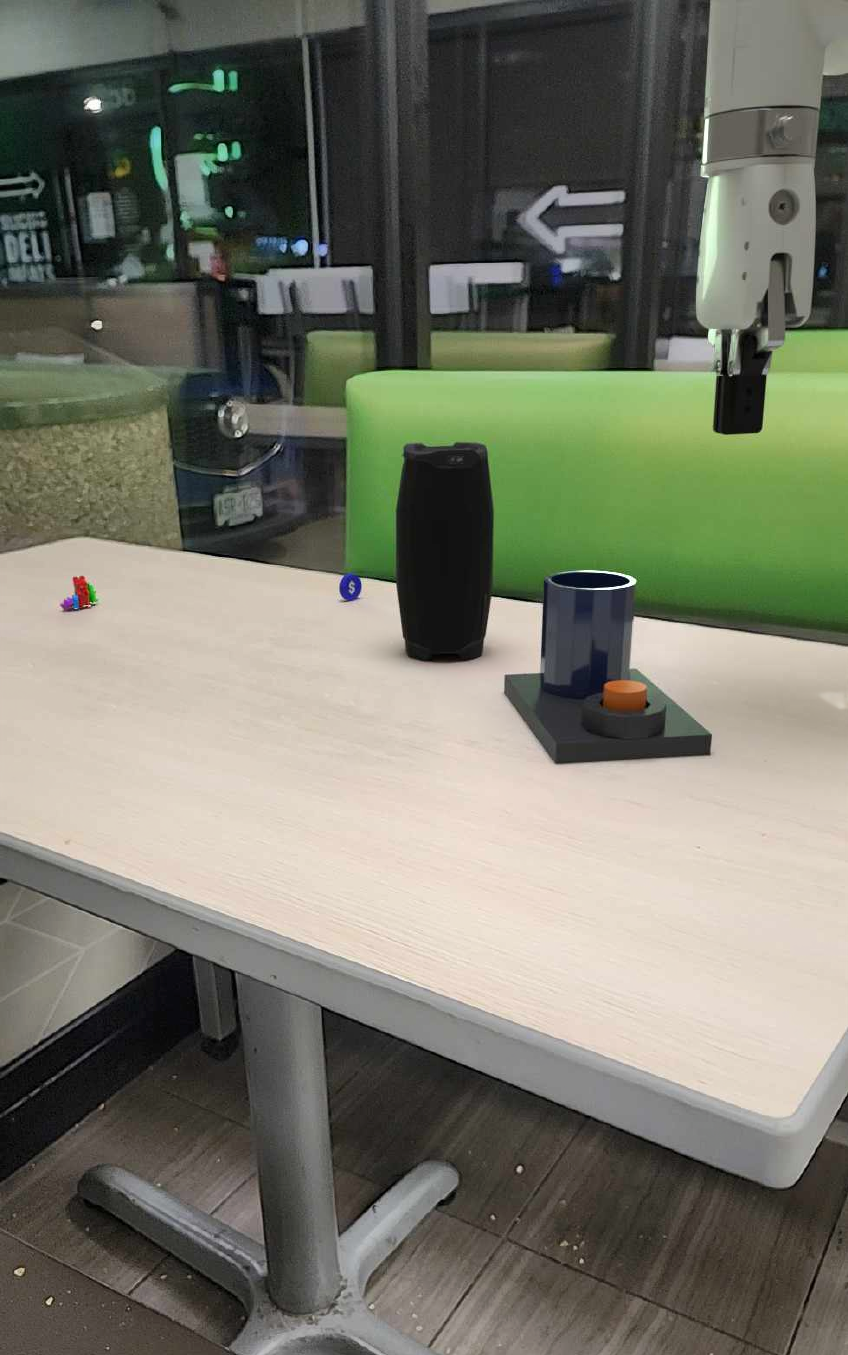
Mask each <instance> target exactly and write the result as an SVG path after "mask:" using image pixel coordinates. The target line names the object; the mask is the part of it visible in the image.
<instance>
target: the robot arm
mask: <svg viewBox="0 0 848 1355" xmlns="http://www.w3.org/2000/svg"><path fill="white" fill-rule="evenodd" d="M708 20H709V21H708V38H707V41H708V42H707V54H706V73H705V91H704V105H703V106H704V107H703V108H704V109H703V128H702V146H701V160H700V161H701V163H700V173H699V174H700V177H702V178H708V180H707V187H706V192H705V193H706V194H705V198H704V199H705V200H704V205H703V212H702V213H703V214H702V222H701V231H700V239H699V248H698V261H697V272H696V288H695V290H696V291H695V316H696V320H697V321H698V323H699V324H700V325H701V326H702V327H703V328H705V329H708V332H707V333H708V334H707V342H708V344H709V345H710V346H711V347H712V348H714V372H715V373H714V374H715V375H716V376H715V377H716V378H715V389H714V390H715V391H714V405H713V407H714V408H713V420H712V430H713V432H714V433H716V434H719V435H720V434H721V435H724V436H728V435H746V434H747V435H748V434H749V435H750V434H759V433H760V432H762V430H763V425H764V413H765V400H766V389H767V378H768V375H769V373H770V371H771V366H772V365H771V364H772V358H773V352H774V351H775V350H778V349H779V348H781V347H783V346H784V344H785V340H786V328H798V327H802V326H803V325H804V324H805V323H806V322H807V321H808V319H809V318H810V315H811V310H812V300H813V288H814V276H815V275H814V271H815V255H816V253H815V252H816V229H817V228H816V226H817V225H816V224H817V201H816V200H817V199H816V180H815V166H816V155H817V154H816V153H817V144H818V134H819V133H818V132H819V122H820V110H821V103H822V102H821V100H822V92H823V80H824V76H842V75H846V74H848V0H710V4H709V18H708Z"/></svg>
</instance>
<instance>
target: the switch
mask: <svg viewBox="0 0 848 1355" xmlns="http://www.w3.org/2000/svg"><path fill="white" fill-rule="evenodd" d="M646 696H647V686H646V685H645V684H643V683H640V682H636V681H629V680H616V681H610V682H607V683H606V684H605V685H604V696H603V707H605V708H608V709H611V710H617V711H639V710H643V709H645V708H646Z"/></svg>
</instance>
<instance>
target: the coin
mask: <svg viewBox="0 0 848 1355" xmlns="http://www.w3.org/2000/svg"><path fill="white" fill-rule="evenodd" d="M338 586H339V587H338V589H339V594H340V596H341V597H342V599H344V600H346V601H354V600H353V599H355V600H356V599H358V598H359V596H360V594H361V592H362V589H363V588H362V586H363V585H362V580H361V578H360V577H359V575H357V574H355V573H354V574H353V573H346V574H345V575H343V576H342V578H341V579H340V582H339V585H338Z"/></svg>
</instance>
